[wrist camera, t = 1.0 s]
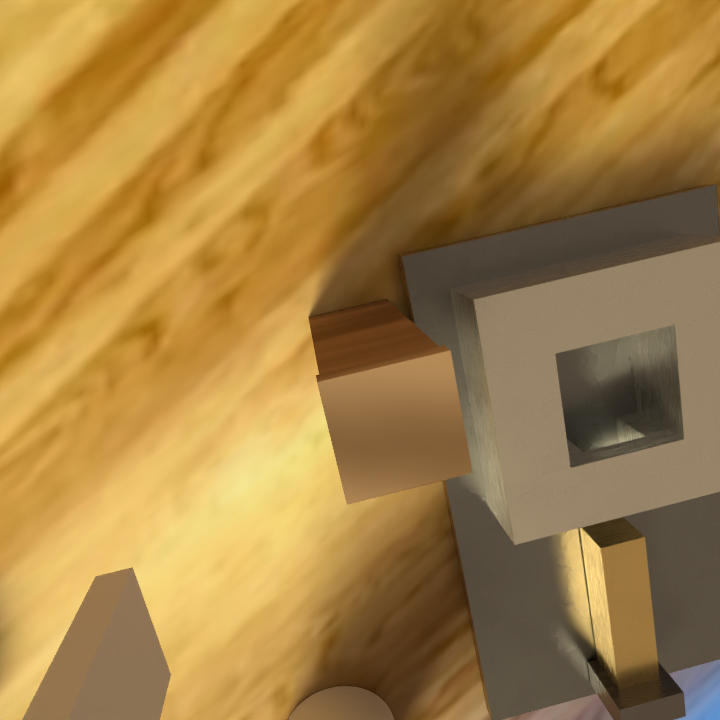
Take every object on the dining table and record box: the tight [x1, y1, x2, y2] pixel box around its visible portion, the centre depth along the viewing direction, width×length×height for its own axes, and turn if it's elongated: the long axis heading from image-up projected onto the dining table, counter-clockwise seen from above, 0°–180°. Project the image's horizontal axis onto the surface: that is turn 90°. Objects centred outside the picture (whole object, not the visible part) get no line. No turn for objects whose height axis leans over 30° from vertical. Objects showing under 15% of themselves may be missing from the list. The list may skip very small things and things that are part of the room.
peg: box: [309, 299, 473, 504], centre depth 25 cm, size 4×4×12 cm
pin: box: [580, 517, 686, 720], centre depth 33 cm, size 11×4×4 cm, turn 12°
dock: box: [398, 185, 720, 720], centre depth 32 cm, size 28×16×5 cm, turn 12°
